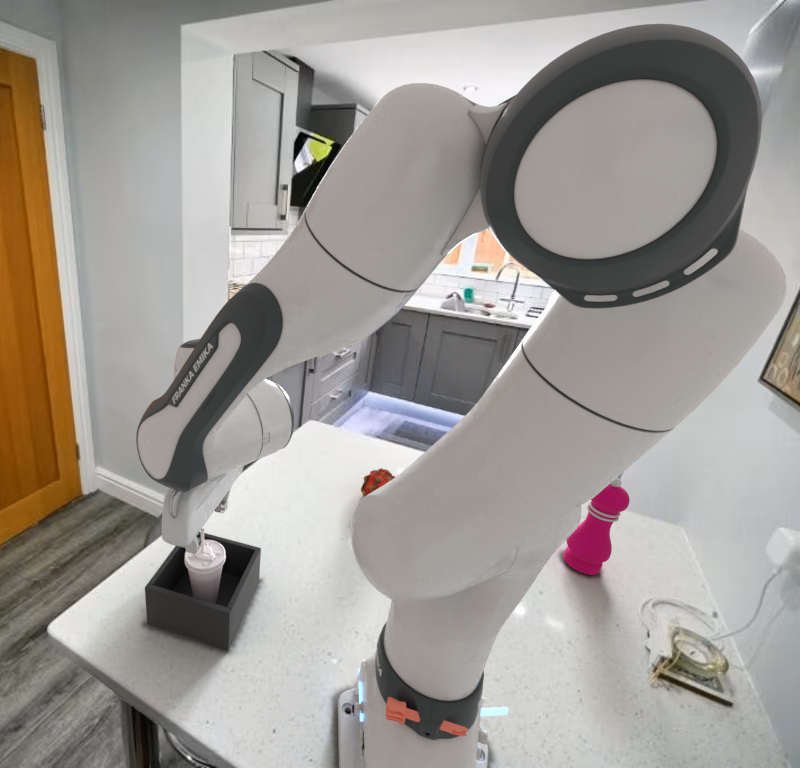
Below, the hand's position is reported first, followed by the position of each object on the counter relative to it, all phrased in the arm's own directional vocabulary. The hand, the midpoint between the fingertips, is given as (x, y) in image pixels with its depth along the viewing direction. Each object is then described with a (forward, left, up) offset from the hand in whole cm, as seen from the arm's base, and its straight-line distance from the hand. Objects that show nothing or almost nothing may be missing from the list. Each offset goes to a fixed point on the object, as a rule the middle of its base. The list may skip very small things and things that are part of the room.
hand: (208, 528), depth 66 cm
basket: (0, 0, -15) cm, 15 cm away
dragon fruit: (+37, -25, -15) cm, 47 cm away
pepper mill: (+32, -65, -5) cm, 73 cm away
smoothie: (0, 0, -15) cm, 15 cm away
